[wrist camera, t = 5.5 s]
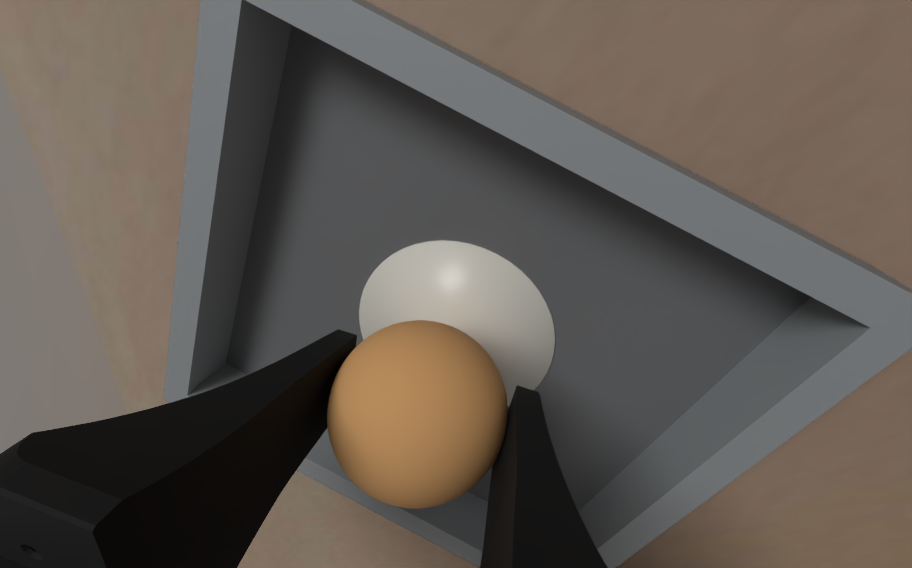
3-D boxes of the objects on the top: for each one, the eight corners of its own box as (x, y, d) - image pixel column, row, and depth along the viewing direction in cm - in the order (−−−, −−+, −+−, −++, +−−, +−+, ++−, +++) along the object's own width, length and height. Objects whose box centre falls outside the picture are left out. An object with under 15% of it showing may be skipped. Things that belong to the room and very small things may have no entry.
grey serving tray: (877, 268, 11) (954, 316, 9) (560, 548, 19) (559, 609, 17) (278, -45, 11) (208, -75, 9) (209, 362, 19) (163, 399, 17)
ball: (535, 316, 12) (519, 444, 8) (496, 431, 14) (467, 578, 10) (380, 271, 13) (287, 368, 8) (366, 389, 15) (288, 511, 11)
